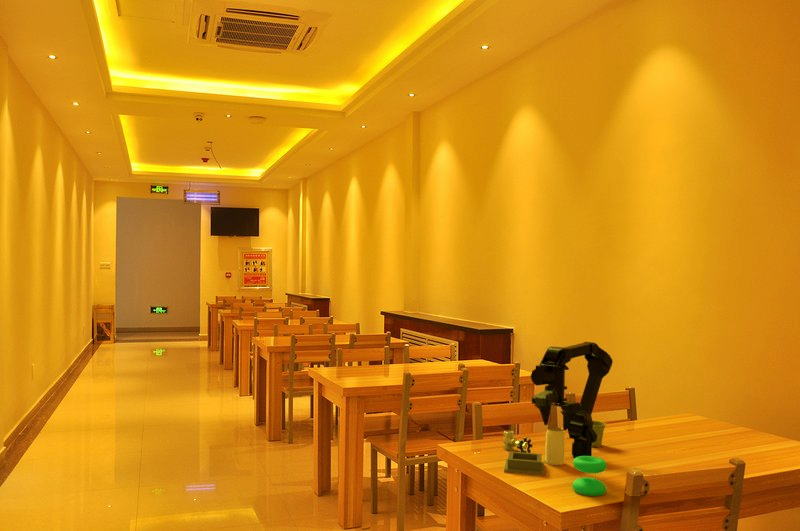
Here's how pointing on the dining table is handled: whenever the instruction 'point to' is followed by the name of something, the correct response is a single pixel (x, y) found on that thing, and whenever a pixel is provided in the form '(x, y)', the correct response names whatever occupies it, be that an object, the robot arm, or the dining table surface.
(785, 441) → the dining table surface
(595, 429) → the plant pot
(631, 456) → the dining table surface
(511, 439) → the valve
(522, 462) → the socket holder
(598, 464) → the donuts
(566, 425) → the robot arm
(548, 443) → the can
